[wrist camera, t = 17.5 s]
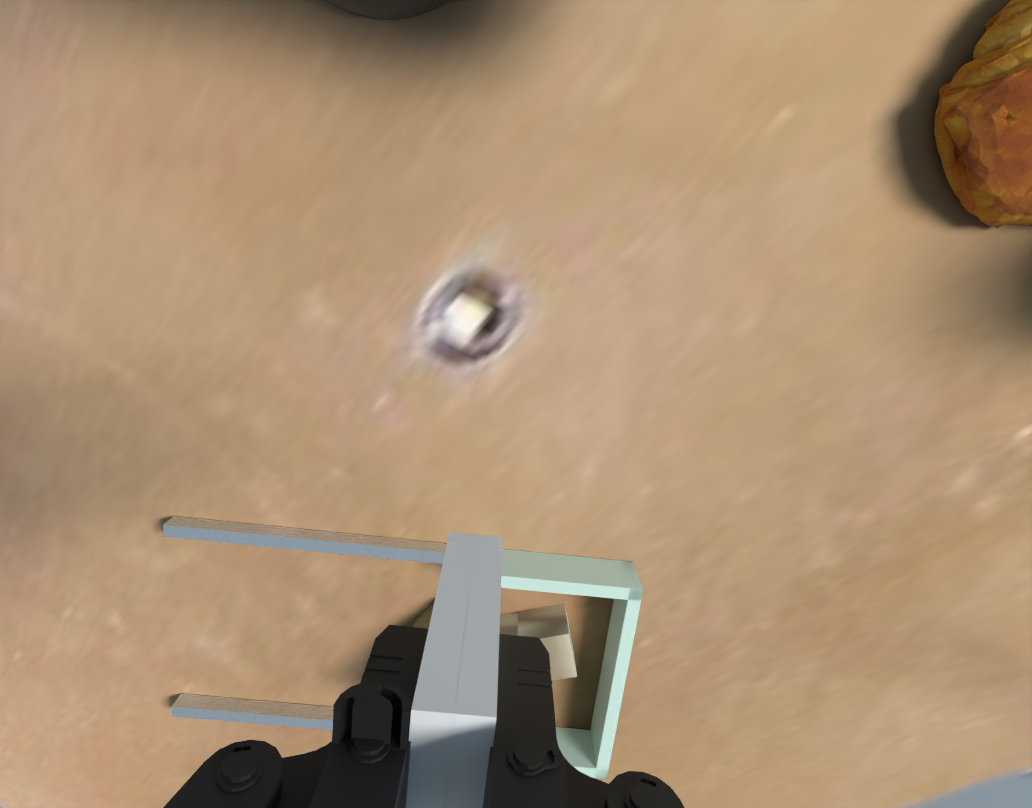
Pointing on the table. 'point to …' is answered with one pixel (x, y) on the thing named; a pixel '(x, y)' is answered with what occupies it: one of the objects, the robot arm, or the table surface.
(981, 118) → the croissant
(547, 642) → the beige cube
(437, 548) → the slot rails
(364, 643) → the table surface
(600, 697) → the tray pen
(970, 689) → the table surface
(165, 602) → the table surface
